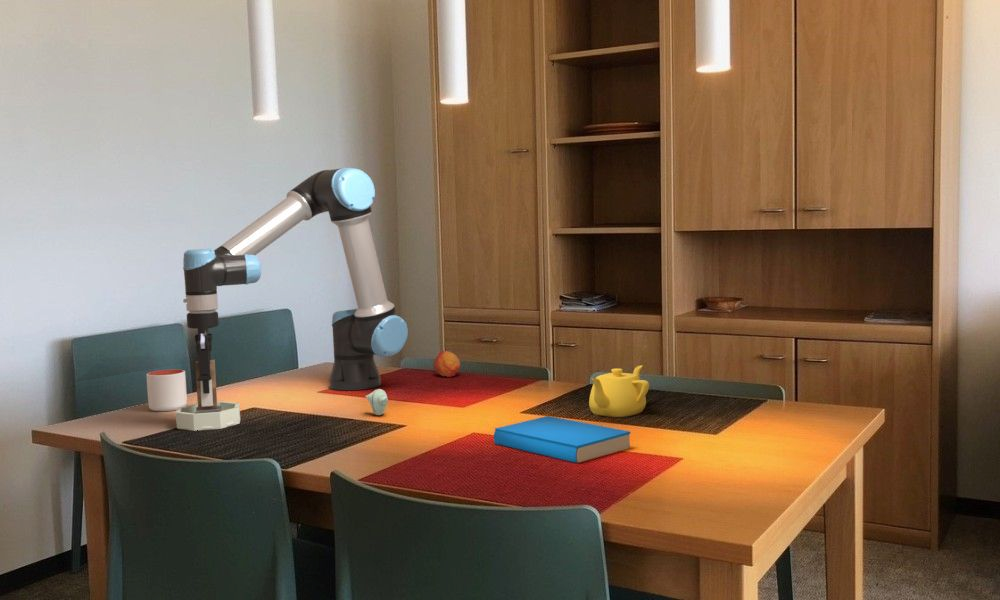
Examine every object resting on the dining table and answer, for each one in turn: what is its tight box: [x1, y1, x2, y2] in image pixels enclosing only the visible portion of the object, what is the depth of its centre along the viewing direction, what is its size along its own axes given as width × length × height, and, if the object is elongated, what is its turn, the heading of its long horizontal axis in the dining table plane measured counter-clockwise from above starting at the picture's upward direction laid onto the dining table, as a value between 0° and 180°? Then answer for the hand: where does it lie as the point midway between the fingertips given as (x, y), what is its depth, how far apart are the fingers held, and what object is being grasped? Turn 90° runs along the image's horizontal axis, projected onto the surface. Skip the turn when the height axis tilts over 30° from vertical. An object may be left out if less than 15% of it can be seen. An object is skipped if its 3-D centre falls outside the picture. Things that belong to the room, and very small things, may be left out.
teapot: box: [588, 365, 650, 418], centre depth 244 cm, size 22×16×11 cm
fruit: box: [433, 350, 461, 378], centre depth 305 cm, size 8×8×8 cm
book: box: [493, 415, 631, 464], centre depth 213 cm, size 17×4×25 cm
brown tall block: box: [194, 359, 218, 411], centre depth 247 cm, size 4×2×13 cm, turn 104°
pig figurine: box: [365, 388, 389, 416], centre depth 251 cm, size 8×4×7 cm, turn 43°
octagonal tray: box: [175, 400, 241, 432], centre depth 248 cm, size 15×15×4 cm
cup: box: [146, 368, 188, 412], centre depth 269 cm, size 10×10×10 cm
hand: (207, 404), depth 247 cm, fingers closed on brown tall block, 2 cm apart
